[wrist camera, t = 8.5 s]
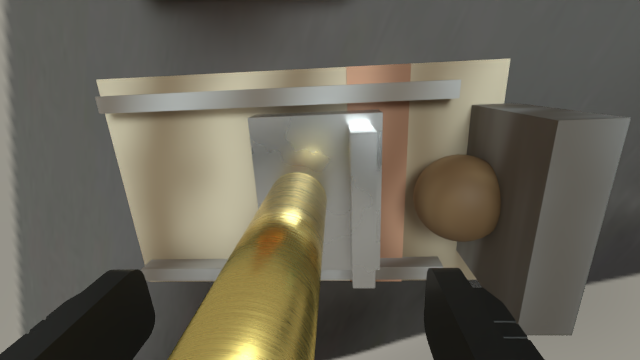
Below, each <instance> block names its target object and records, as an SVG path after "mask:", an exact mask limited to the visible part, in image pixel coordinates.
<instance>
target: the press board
mask: <svg viewBox="0 0 640 360" xmlns="http://www.w3.org/2000/svg"><path fill="white" fill-rule="evenodd" d="M509 65H510V59H493V60H473V61H454V62H434V63H415V64H393V65H374V66H354V67H336V68H317V69H297V70H277V71H258V72H238V73H219V74H199V75H179V76H160V77H140V78H121V79H101V80H96V81H97V85H98V89H99V92H100V97H95V99H96V103H97V106H98V110H99V114H105V115H106V119H107V123H108V127H109V130H110V134H111V138H112V142H113V146H114V149H115V153H116V157H117V161H118V165H119V168H120V172H121V176H122V180H123V184H124V187H125V191H126V195H127V199H128V203H129V206H130V210H131V214H132V218H133V222H134V225H135V229H136V233H137V237H138V241H139V244H140V248H141V252H142V256H143V260H144V263H145V266H144V267H143V268H142V269H141V270H142V272H143V274H144V276H145V279H146V281H149V282H204V281H215V280H216V278H217V277H218V275H219V273H220V272H221V270H222V269H223V267H224V265H225V264H226V262H227V260H228V259H229V257H230V255H231V254H232V252H233V250H234V249H235V247H236V245H237V244H238V242H239V240H240V239H241V237H242V235H243V234H244V232H245V230H246V229H247V227H248V226H249V224H250V222H251V221H252V219H253V217H254V216H255V214H256V212H257V211H258V202H257V193H256V185H255V177H254V168H253V160H252V151H251V143H250V135H249V126H248V118H249V117H251V116H253V115H256V114H278V113H302V112H326V111H350V110H373V109H379V110H380V111H381V112H383V129H382V183H381V236H380V270H375V282H376V281H401V280H426V277H427V271H428V269H429V268H460V269H461V271H462V272H463V274H464V275H465V277H466V278H467V280H478V282H479V283H480V285H481V286H482V287H483V288H484V289H486V290H487V291H488V292H490V293H491V294H492V295H494V296H495V297H496V298H498V299H499V300H500V301H502V302H503V303H504V305H505V306H506V308H507V309H508V310H509V312H510V313H511V314H512V316H513V317H514V319H515V320H516V324H519V325H520V327H521V328H522V330H523V331H524V332H525V334H526V335H572V332H573V329H574V325H575V322H576V318H577V314H578V311H579V307H580V303H581V299H582V296H583V292H584V289H585V285H586V281H587V278H588V274H589V270H590V267H591V263H592V259H593V255H594V252H595V248H596V244H597V241H598V237H599V233H600V230H601V226H602V222H603V219H604V215H605V211H606V208H607V204H608V200H609V197H610V193H611V189H612V186H613V182H614V178H615V175H616V171H617V167H618V164H619V160H620V156H621V152H622V149H623V145H624V141H625V138H626V134H627V130H628V127H629V123H630V119H631V118H628V117H620V116H613V115H605V114H597V113H589V112H581V111H574V110H566V109H558V108H550V107H542V106H535V105H527V104H519V103H504V100H505V93H506V86H507V79H508V72H509ZM320 281H350V282H352V272H351V270H321V280H320Z"/></svg>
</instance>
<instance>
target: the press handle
mask: <svg viewBox="0 0 640 360" xmlns="http://www.w3.org/2000/svg"><path fill="white" fill-rule="evenodd" d="M248 126H249V135H250V143H251V151H252V160H253V168H254V177H255V185H256V193H257V202H258V211H257V212H256V214H255V216H254V217H253V219H252V221H251V222H250V224H249V226H248V227H247V229H246V230H245V232H244V234H243V235H242V237H241V239H240V240H239V242H238V244H237V245H236V247H235V249H234V250H233V252H232V254H231V255H230V257H229V259H228V260H227V262H226V264H225V265H224V267H223V269H222V270H221V272H220V273H219V275H218V277H217V278H216V280H215V282H214V283H213V285H212V287H211V288H210V290H209V292H208V293H207V295H206V297H205V298H204V300H203V302H202V303H201V305H200V307H199V308H198V310H197V312H196V313H195V315H194V316H193V318H192V320H191V321H190V323H189V325H188V326H187V328H186V330H185V331H184V333H183V335H182V336H181V338H180V340H179V341H178V343H177V345H176V346H175V348H174V350H173V351H172V353H171V355H170V356H169V358H168V359H167V360H314V355H315V342H316V330H317V317H318V305H319V292H320V280H321V270H351V272H352V285H353V288H375V270H380V236H381V183H382V129H383V112H381V111H380V110H379V109H373V110H350V111H326V112H302V113H278V114H256V115H253V116H251V117H249V118H248Z"/></svg>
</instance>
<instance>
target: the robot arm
mask: <svg viewBox="0 0 640 360" xmlns="http://www.w3.org/2000/svg"><path fill="white" fill-rule="evenodd" d="M154 324H155V312H154V308H153V304H152V301H151V297H150V294H149V290H148V286H147V283H146V279H145V276H144V274H143V272H142V271H140V270H109V271H107V272H106V273H104V274H103V275H102V276H101V277H100V278H98V279H97V280H96V281H95V282H94V283H92V284H91V285H90V286H89V287H87V288H86V289H85V290H84V291H83V292H81V293H80V294H78V295H76V296H74V297H72V298H71V299H69V300H67V301H65V302H64V303H63V304H62V305H60V306H59V307H58V308H57V309H56V310H54V311H53V312H52V313H51V314H49V315H48V316H47V318H46V320H42V321H41V322H39V323H38V324H37V325H36V326H34V327H33V328H32V329H31V330H30V332H29V334H25V335H23V336H22V337H21V338H20V339H18V340H17V341H16V342H15V343H13V344H12V345H11V346H10V347H8V348H7V349H6V350H5V351H4V352H2V353H1V354H0V360H132V359H133V358H134V357H135V355H136V354H137V353H138V351H139V350H140V349H141V347H142V346H143V345H144V343H145V342H146V341H147V339H148V338H149V336H150V335H151V333H152V330H153V327H154ZM424 324H425V332H426V336H427V340H428V344H429V346H430V350H431V353H432V355H433V358H434V360H544V359H543V357H542V356H541V355H540V353H539V352H538V350H537V349H536V348H535V346H534V345H533V343H532V342H531V341H530V340H528V339H527V335H526V334H525V332H524V331H523V330H522V328H521V327H520V325H519V324H516V320H515V319H514V317H513V316H512V314H511V313H510V312H509V310H508V309H507V308H506V306H505V305H504V303H503V302H502V301H500V300H499V299H498V298H496V297H495V296H494V295H492V294H491V293H490V292H488V291H487V290H486V289H484V288H472V286H471V285H470V283H469V282H468V280H467V278H466V277H465V275H464V274H463V272H462V271H461V269H460V268H429V269H428V271H427V277H426V292H425V308H424Z"/></svg>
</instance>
